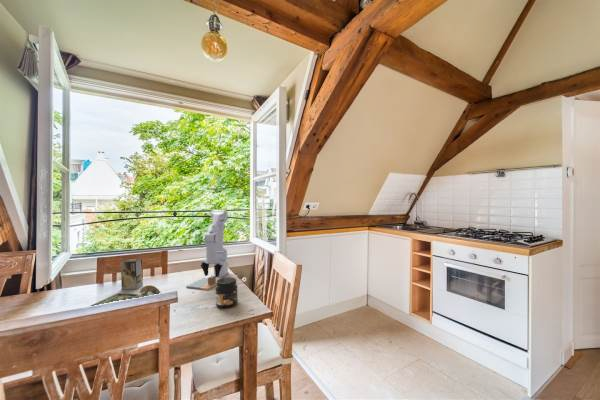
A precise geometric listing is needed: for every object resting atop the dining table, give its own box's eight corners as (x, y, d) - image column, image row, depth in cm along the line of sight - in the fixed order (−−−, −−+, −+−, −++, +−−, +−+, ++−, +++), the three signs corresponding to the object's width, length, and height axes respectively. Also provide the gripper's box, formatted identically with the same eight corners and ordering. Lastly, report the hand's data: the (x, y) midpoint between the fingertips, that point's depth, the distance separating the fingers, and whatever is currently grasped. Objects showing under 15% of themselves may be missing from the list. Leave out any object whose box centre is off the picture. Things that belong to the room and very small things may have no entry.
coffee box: (143, 285, 152) (142, 258, 151) (136, 289, 145) (136, 261, 145) (128, 285, 151) (127, 259, 151) (120, 289, 145) (120, 261, 145)
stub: (215, 280, 157) (215, 272, 157) (223, 281, 156) (223, 273, 156) (199, 289, 143) (199, 280, 143) (207, 290, 142) (207, 281, 141)
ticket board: (203, 279, 160) (203, 277, 160) (215, 280, 158) (215, 278, 158) (186, 288, 146) (186, 285, 146) (199, 289, 143) (199, 287, 143)
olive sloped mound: (171, 283, 134) (142, 298, 114) (171, 297, 134) (142, 315, 114) (117, 280, 139) (80, 295, 119) (117, 294, 139) (81, 311, 119)
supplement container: (213, 309, 118) (212, 284, 118) (218, 300, 128) (218, 277, 128) (235, 308, 119) (235, 283, 118) (239, 299, 129) (239, 276, 129)
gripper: (196, 254, 147) (197, 277, 148) (217, 255, 143) (218, 279, 143) (204, 251, 154) (205, 273, 154) (224, 252, 150) (225, 275, 150)
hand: (211, 276), depth 149 cm, fingers open, 7 cm apart
